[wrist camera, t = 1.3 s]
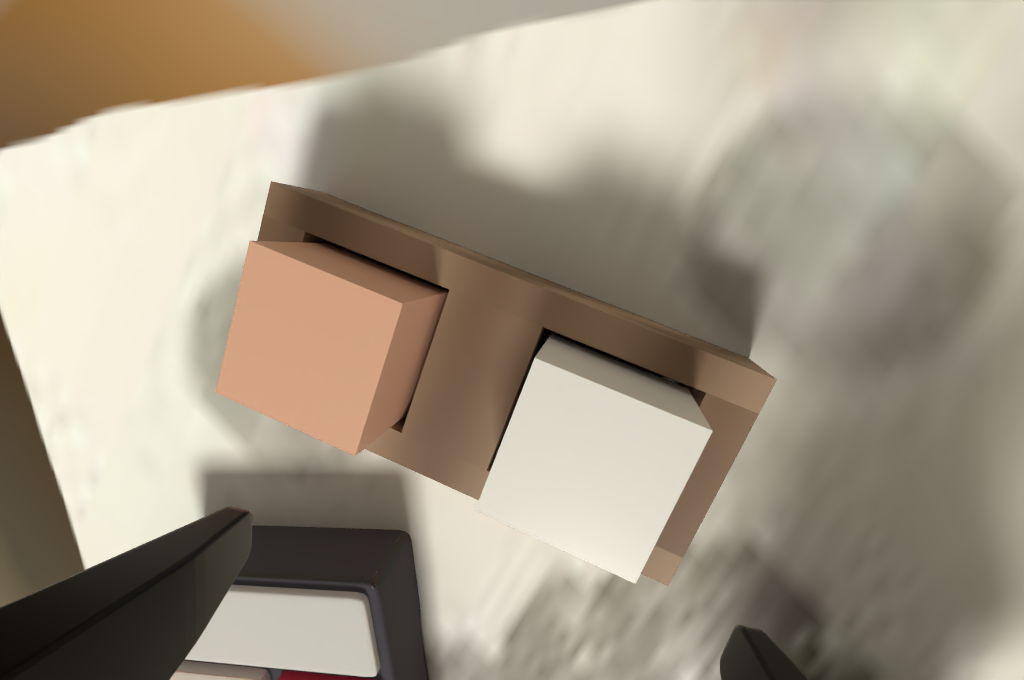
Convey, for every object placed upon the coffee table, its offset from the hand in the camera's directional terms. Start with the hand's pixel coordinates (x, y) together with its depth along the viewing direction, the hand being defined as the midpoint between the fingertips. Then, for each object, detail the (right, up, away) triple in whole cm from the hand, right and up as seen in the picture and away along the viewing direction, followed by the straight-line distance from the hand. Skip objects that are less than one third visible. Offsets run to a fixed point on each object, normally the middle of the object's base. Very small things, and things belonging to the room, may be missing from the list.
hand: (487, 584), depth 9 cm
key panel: (0, +3, +11) cm, 12 cm away
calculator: (-9, -12, +16) cm, 22 cm away
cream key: (+3, +1, +9) cm, 9 cm away
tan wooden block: (-5, +5, +10) cm, 12 cm away
